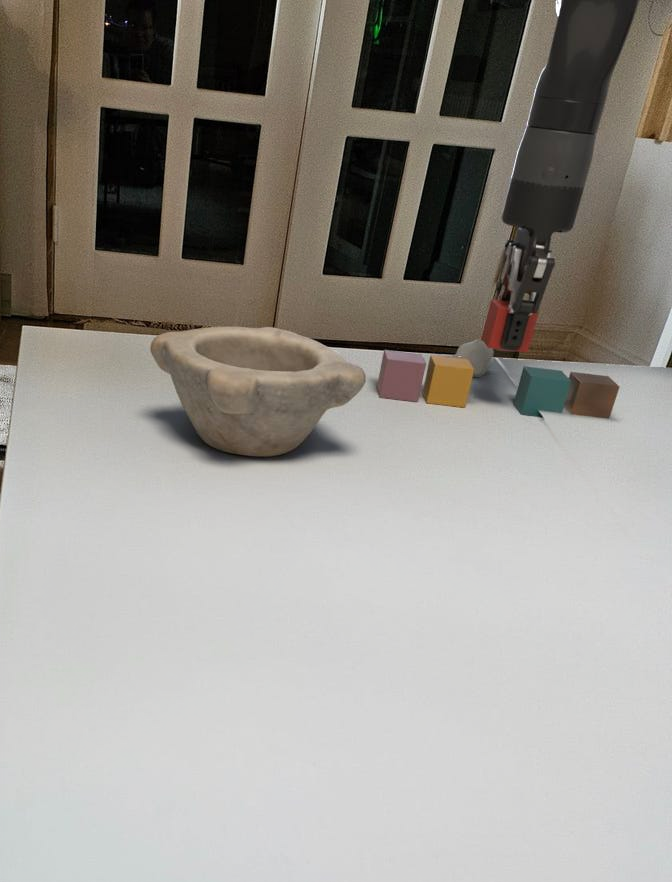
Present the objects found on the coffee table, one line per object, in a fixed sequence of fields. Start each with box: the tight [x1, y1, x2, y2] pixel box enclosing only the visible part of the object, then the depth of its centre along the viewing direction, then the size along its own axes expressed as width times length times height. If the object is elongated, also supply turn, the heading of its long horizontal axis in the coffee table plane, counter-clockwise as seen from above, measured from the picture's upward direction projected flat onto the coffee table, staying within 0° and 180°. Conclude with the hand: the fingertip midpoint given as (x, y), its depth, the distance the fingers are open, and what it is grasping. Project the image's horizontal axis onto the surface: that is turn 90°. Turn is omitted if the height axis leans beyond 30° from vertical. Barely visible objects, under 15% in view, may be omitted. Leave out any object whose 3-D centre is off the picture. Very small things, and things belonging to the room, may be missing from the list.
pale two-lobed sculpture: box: [452, 338, 495, 378], centre depth 124 cm, size 4×8×5 cm
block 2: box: [422, 354, 474, 409], centre depth 110 cm, size 4×4×4 cm
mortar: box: [149, 326, 366, 457], centre depth 90 cm, size 17×17×9 cm
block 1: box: [376, 349, 427, 403], centre depth 111 cm, size 4×4×4 cm
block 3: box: [513, 365, 571, 418], centre depth 110 cm, size 4×4×4 cm
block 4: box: [563, 371, 621, 420], centre depth 110 cm, size 4×4×4 cm
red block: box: [480, 298, 540, 353], centre depth 107 cm, size 4×4×4 cm
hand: (505, 342), depth 108 cm, fingers closed on red block, 4 cm apart
